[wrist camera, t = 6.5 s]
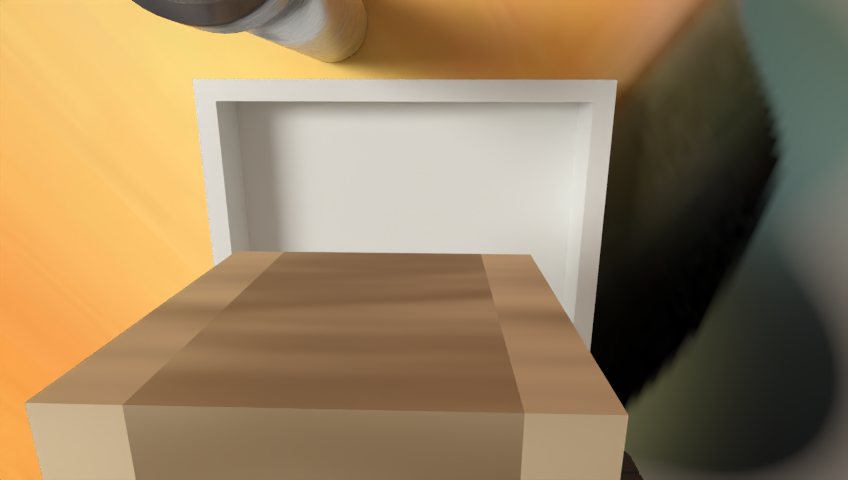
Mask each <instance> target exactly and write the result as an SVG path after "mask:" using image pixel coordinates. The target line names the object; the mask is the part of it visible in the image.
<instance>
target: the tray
mask: <svg viewBox="0 0 848 480" xmlns="http://www.w3.org/2000/svg"><path fill="white" fill-rule="evenodd" d="M193 86H194V95H195V104H196V112H197V121H198V130H199V138H200V147H201V156H202V165H203V173H204V182H205V191H206V199H207V208H208V217H209V225H210V234H211V243H212V251H213V260H214V267H215V266H216V265H217V264H219V263H220V262H222V261H223V260H224V259H226V258H227V257H229V256H230V255H231V254H233V253H234V252H236V251H269V252H358V253H448V254H531V256H532V258H533V259H534V261H535V263H536V264H537V266H538V267H539V269H540V271H541V272H542V274H543V276H544V277H545V279H546V281H547V282H548V284H549V286H550V287H551V289H552V290H553V292H554V294H555V295H556V297H557V299H558V300H559V302H560V304H561V305H562V307H563V309H564V310H565V312H566V313H567V315H568V317H569V318H570V320H571V322H572V323H573V325H574V327H575V328H576V330H577V332H578V333H579V335H580V336H581V338H582V340H583V341H584V343H585V345H586V346H587V348H588V350H589V351H590V347H591V337H592V327H593V318H594V308H595V298H596V288H597V278H598V268H599V258H600V248H601V238H602V228H603V218H604V208H605V199H606V189H607V179H608V169H609V159H610V149H611V139H612V129H613V119H614V109H615V99H616V89H617V80H444V79H193Z"/></svg>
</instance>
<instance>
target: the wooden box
mask: <svg viewBox="0 0 848 480" xmlns="http://www.w3.org/2000/svg"><path fill="white" fill-rule="evenodd" d="M25 407H26V411H27V416H28V420H29V424H30V428H31V432H32V436H33V440H34V444H35V449H36V453H37V457H38V461H39V465H40V469H41V473H42V477H43V480H620V477H621V469H622V462H623V454H624V446H625V438H626V431H627V423H628V414H627V412H626V410H625V409H624V407H623V406H622V404H621V402H620V401H619V399H618V397H617V396H616V394H615V392H614V391H613V389H612V387H611V386H610V384H609V383H608V381H607V379H606V378H605V376H604V374H603V373H602V371H601V369H600V368H599V366H598V364H597V363H596V361H595V360H594V358H593V356H592V355H591V353H590V351H589V350H588V348H587V346H586V345H585V343H584V341H583V340H582V338H581V336H580V335H579V333H578V332H577V330H576V328H575V327H574V325H573V323H572V322H571V320H570V318H569V317H568V315H567V313H566V312H565V310H564V309H563V307H562V305H561V304H560V302H559V300H558V299H557V297H556V295H555V294H554V292H553V290H552V289H551V287H550V286H549V284H548V282H547V281H546V279H545V277H544V276H543V274H542V272H541V271H540V269H539V267H538V266H537V264H536V263H535V261H534V259H533V258H532V256H531V254H448V253H358V252H269V251H236V252H234V253H233V254H231V255H230V256H229V257H227V258H226V259H224V260H223V261H222V262H220V263H219V264H217V265H216V266H215V267H213V268H212V269H210V270H209V271H208V272H206V273H205V274H204V275H202V276H201V277H199V278H198V279H197V280H195V281H194V282H192V283H191V284H190V285H188V286H187V287H185V288H184V289H183V290H181V291H180V292H178V293H177V294H176V295H174V296H173V297H171V298H170V299H169V300H167V301H166V302H164V303H163V304H162V305H160V306H159V307H158V308H156V309H155V310H153V311H152V312H151V313H149V314H148V315H146V316H145V317H144V318H142V319H141V320H139V321H138V322H137V323H135V324H134V325H132V326H131V327H130V328H128V329H127V330H125V331H124V332H123V333H121V334H120V335H119V336H117V337H116V338H114V339H113V340H112V341H110V342H109V343H107V344H106V345H105V346H103V347H102V348H100V349H99V350H98V351H96V352H95V353H93V354H92V355H91V356H89V357H88V358H86V359H85V360H84V361H82V362H81V363H79V364H78V365H77V366H75V367H74V368H73V369H71V370H70V371H68V372H67V373H66V374H64V375H63V376H61V377H60V378H59V379H57V380H56V381H54V382H53V383H52V384H50V385H49V386H47V387H46V388H45V389H43V390H42V391H40V392H39V393H38V394H36V395H35V396H34V397H32V398H31V399H29V400H28V401H27V402H25Z"/></svg>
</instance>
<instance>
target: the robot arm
mask: <svg viewBox="0 0 848 480" xmlns="http://www.w3.org/2000/svg"><path fill="white" fill-rule="evenodd" d="M620 480H643V478H642V477H641V475H639V471H638V469H637V467H636V466H635V464H634V462H633V461H632V458H631V456H630V455H629V454H627V453H626V452H625V451H624V454H623V462H622V469H621V477H620Z"/></svg>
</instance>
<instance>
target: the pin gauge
mask: <svg viewBox="0 0 848 480" xmlns="http://www.w3.org/2000/svg"><path fill="white" fill-rule="evenodd" d="M132 1H134V2H135V3H137V4H138V5H140V6H141V7H142V8H144V9H146V10H148V11H150V12H152V13H154V14H156V15H158V16H160V17H163V18H166V19H169V20H172V21H175V22H178V23H181V24H184V25H187V26H190V27H193V28H196V29H199V30H203V31H207V32H212V33H223V34H227V33H238V32H243V31H246V32H248V33H251V34H253V35H256V36H258V37H261V38H263V39H266V40H268V41H271V42H274V43H276V44H279V45H281V46H284V47H286V48H289V49H291V50H294V51H296V52H299V53H301V54H304V55H306V56H309V57H311V58H314V59H317V60H319V61H323V62H339V61H342V60H345V59H347V58H349V57H350V56H352V55H353V54H354V53H355V52H356V51H357V50H358V49H359V48H360V46H361V45H362V43H363V41H364V39H365V36H366V33H367V25H368V20H367V13H366V9H365V6H364V4H363V2H362V0H132Z"/></svg>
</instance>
